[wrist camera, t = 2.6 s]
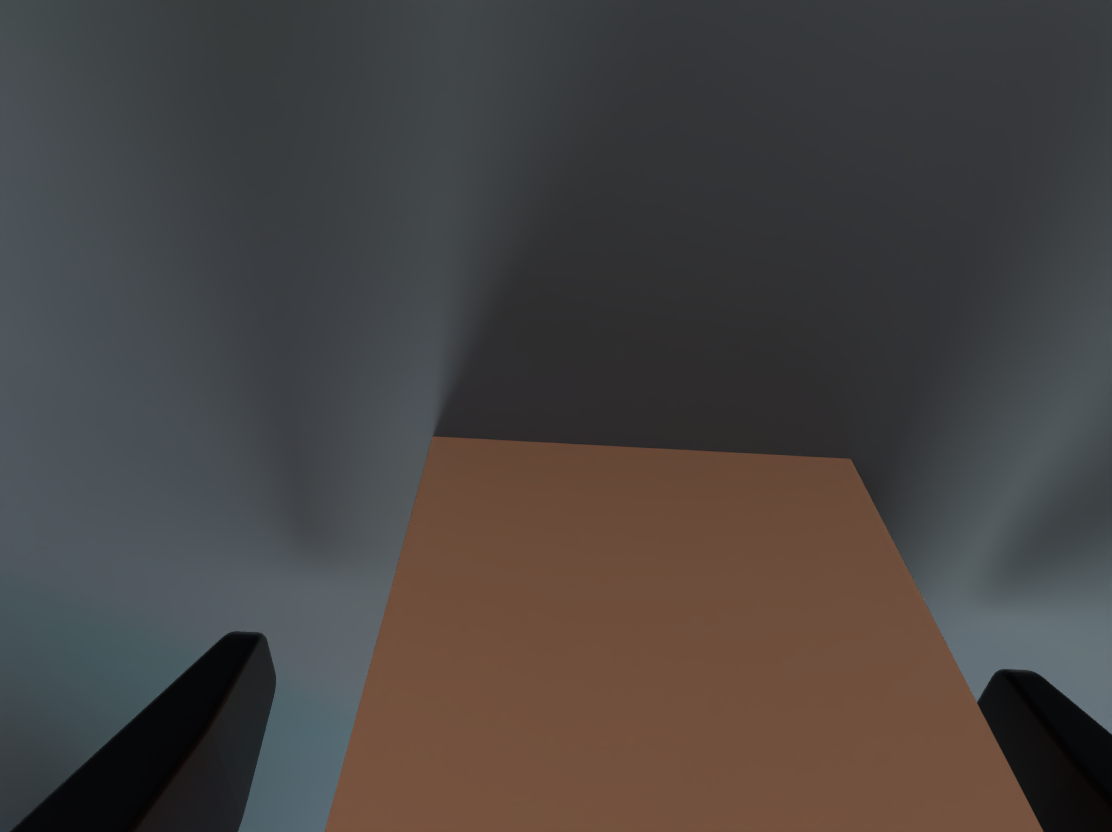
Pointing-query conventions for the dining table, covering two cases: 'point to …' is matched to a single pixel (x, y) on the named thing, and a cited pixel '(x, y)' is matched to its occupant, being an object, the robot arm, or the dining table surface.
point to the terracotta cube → (661, 656)
